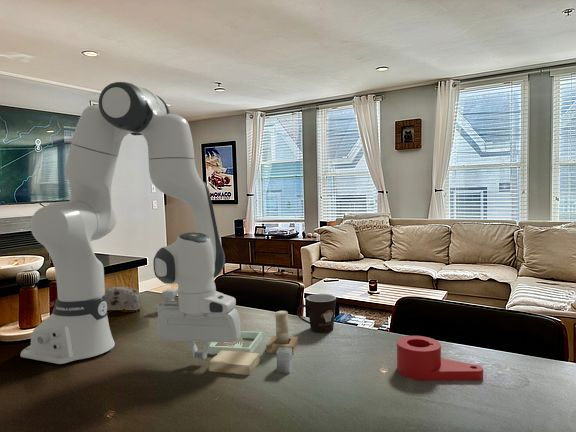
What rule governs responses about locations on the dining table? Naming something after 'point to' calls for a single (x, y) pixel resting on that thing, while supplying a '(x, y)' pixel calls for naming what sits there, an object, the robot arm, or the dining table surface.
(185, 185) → the robot arm
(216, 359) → the tan rectangular slab
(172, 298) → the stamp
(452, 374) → the lever
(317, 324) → the coffee mug
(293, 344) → the socket block
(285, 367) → the gray rectangular block
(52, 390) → the dining table surface
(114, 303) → the stone
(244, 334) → the tray
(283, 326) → the dowel
